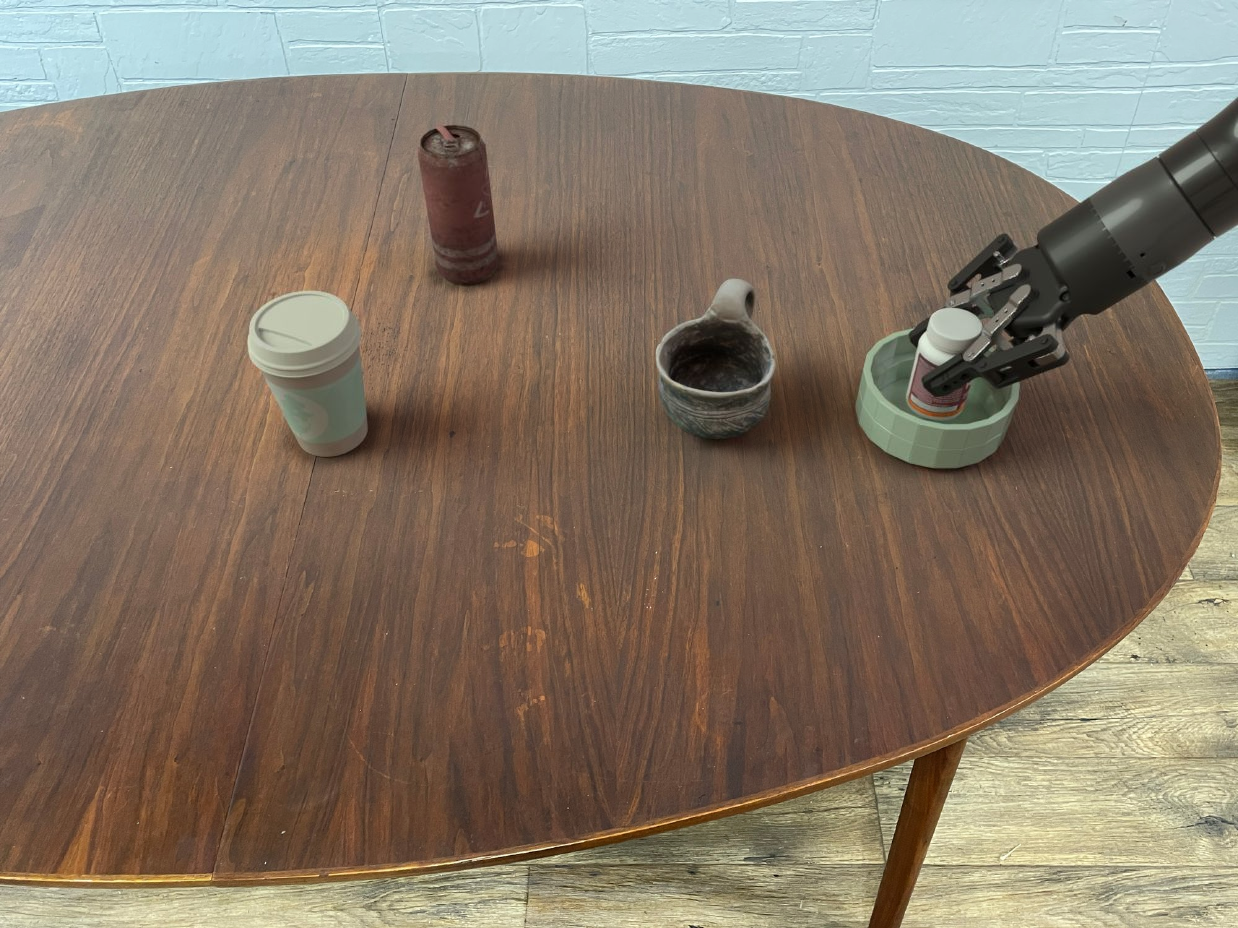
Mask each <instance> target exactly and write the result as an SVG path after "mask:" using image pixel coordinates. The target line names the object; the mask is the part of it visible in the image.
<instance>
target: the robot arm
mask: <svg viewBox="0 0 1238 928" xmlns="http://www.w3.org/2000/svg"><path fill="white" fill-rule="evenodd" d="M1237 226H1238V96H1237V97H1236V98H1234V99H1233V100H1232V101H1231V102H1230V103H1228V105H1226V106H1225V107H1224V108H1223V109H1222V110H1221V111H1219V112H1218V113H1217V114H1215V116H1213V117H1212V118H1210V119H1209V120H1208V121H1206V122H1205V123H1204V124H1202V125H1200V126H1198V127H1197V128H1196V129H1195V130H1192V132H1190V133H1188V134H1187V135H1185V136H1184V137H1183V138H1181V139H1180V140H1178V141H1176V142H1174V143H1173V144H1172V145H1171V146H1169V147H1167V148H1166V149H1165V150H1163V151H1162V152H1160V153H1158V155H1157V156H1154V157H1152V158H1151V159H1149V160H1148V161H1145V162H1144V163H1142V164H1140V165H1138V166H1135V167H1134V168H1132V169H1130V170H1128V171H1126V172H1125V173H1123V174H1121V175H1120V176H1118V177H1117V178H1115V179H1114V180H1112V181H1110V182H1108V184H1105V186H1103V187H1101V188H1100V189H1099V190H1097V191H1095V192H1094V193H1093V194H1091V195H1090V196H1088V197H1086V198H1085V199H1083V200H1082V201H1081V202H1080V203H1078V204H1076V205H1075V206H1074V207H1072V208H1070V209H1069V210H1067V211H1066V212H1064V213H1063V214H1061V215H1060V216H1058V217H1057V218H1055V219H1054V220H1052V221H1051V222H1050V223H1047V224H1046V225H1045V226H1044V227H1042V228H1040V229H1039V230H1038V232H1037V234H1036V242H1037V244H1035V245H1032V246H1030V247H1026V248H1020V246H1019V245H1018V244H1017V243H1016V242H1015V241H1014V239H1012V238H1011V236H1010V235H1009V234H1008V233H1005V232H1004V233H1001V234H999V235H998V236H996V237H995V239H993V240H992V241H991V242H990V243H989V244H988V245H987V246H986V247H985V248H983V250H981V251H980V252H979V253H977V255H976V256H975V257H973V259H972V260H970V261H969V262H968V263H967V264H966V265H965V266H964V267H963V268H962V269H961V270H960V271H959V272H957V274H955V275H954V276H953V277H952V278H951V279H950V280H949V281H948V283H947V286H946V288H947V289H948V290H949V297H948V298H947V300H946V301H945V303H944V306H943V307H942V308H941V309H944V308H958V309H963V310H966V311H969V312H971V313H973V314H974V315H976V316H977V317H978V318H979V319H980V321H982V320H983V319H989V320H988V321H987V322H986V323H985V324H984V325H983V329H982V334H981V336H980V337H979V338H978V339H977V340H976V341H975V342H974V343H973V344H972V345H971V346H970V347H969V348H968V349H967V350H966V351H965V353H964V355H962V354H961V353H959V354H957V355H956V356H954V357H952V358H951V359H949V360H948V361H946V362H945V363H943V364H941V365H940V366H938V367H937V368H935V369H933V370H932V371H930V372H929V373H927V374H926V375H924V376H923V377H922V379H921V380H922V384H923V387H924V388H925V389H926V390H927V391H928V392H929V393H930V394H932V395H933V396H934V397H940V396H941V397H943V396H947V395H949V394H951V393H952V392H954V391H955V390H957V389H958V388H960V387H962V386H964V385H965V384H967V383H969V382H970V381H972V380H973V379H975V378H978V377H983V378H984V379H986V380H987V381H988V382H989V383H990V384H991V385H992V386H993V387H994V388H995V389H1001V388H1003V387H1006V386H1009V385H1011V384H1014V383H1017V382H1019V383H1020V382H1022V381H1025V380H1027V379H1030V378H1033V377H1036V376H1038V375H1041V374H1044V373H1046V372H1049V371H1052V370H1054V369H1058V368H1060V367H1062V366H1065V365H1066V364H1067V363H1068V362H1069V361H1070V357H1071V355H1070V353H1069V352H1068V350H1066V349H1065V347H1064V346H1063V332H1065V331H1066V329H1067V328H1068V327H1069V326H1070V325H1071V323H1073V321H1074V320H1076V319H1077V318H1078V317H1080V316H1082V315H1091V316H1097V315H1099V314H1101V313H1103V312H1104V311H1106V310H1108V309H1109V308H1111V307H1113V306H1114V305H1116V304H1118V303H1119V302H1121V301H1123V300H1124V299H1126V298H1127V297H1129V296H1131V295H1133V294H1134V293H1136V292H1137V291H1139V290H1142V289H1143V288H1144V287H1146V286H1148V285H1149V284H1150V283H1152V282H1154V281H1155V280H1157V279H1159V278H1161V277H1162V276H1164V275H1166V274H1168V273H1169V272H1171V271H1172V270H1174V269H1176V268H1178V267H1179V266H1181V265H1182V264H1184V263H1185V262H1186V261H1188V260H1189V259H1191V258H1192V257H1193V256H1195V255H1196V254H1197V253H1199V252H1200V251H1201V250H1203V248H1204V247H1206V246H1207V245H1209V244H1211V243H1212V242H1213V241H1215V239H1218V238H1220V237H1221V236H1223V235H1225V234H1226V233H1227V232H1229V231H1231V230H1232V229H1234V228H1236V227H1237ZM977 275H980V278H979V279H978V280H977V281H974V282H973V283H972V284H970V287H969V285H968V284H969V283H970V282H971V281H972V280H973V279H974V278H975V277H976V276H977ZM973 305H974V306H973ZM931 316H932V314H931V315H930V316H929V317H927V318H925V319H924V320H922V321H921V322H919V323H918V324H916V326H914V327H913V328H914V329H913V330H912V331H910V332H909V339H910V342H911V343H912V344H913V345H914V346H915V347H916V348H917V347H918V342H919V339H920V338H921V336H922V335H923V334H924V333H925V332H926V331H927V327H928V324H929V320H930V317H931ZM1003 331H1004V333H1006V334H1007V336H1008V337H1009V338H1011V337H1012V338H1011V339H1009V340H1008V339H1007V338H1006V337H1005V336H1004V335H1003ZM994 346H996V347H995V348H994V349H995V350H994V351H993V352H992V353H991V354H990V355H989V356H988V357H986V356H985V355H984V354H985V353H986V352H987V351H988V350H989V349H990V348H991V347H992V348H993V347H994ZM1006 367H1011V368H1008V369H1006V370H1003V371H1001V369H1003V368H1006Z"/></svg>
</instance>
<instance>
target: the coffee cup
mask: <svg viewBox="0 0 1238 928" xmlns="http://www.w3.org/2000/svg"><path fill="white" fill-rule="evenodd" d="M248 329H249V330H248V336H247V351H248V356H249V359H250V360H251V363H253V364H254V365H255V367H257V368H258V369H259V370H260V371H261V373H262V375H263V378H264V379H265V381H266V383H267V385H268V387H269V389H270V391H271V393H272V395H273V397H274V399H275V400H276V402H277V404H278V406H279V408H280V411H281V412H282V414H283V417H284V418H285V420H286V422H287V424H288V426H289V427H290V430H291V432H292V434H293V435H294V437H295V439H296V440H297V443H298V445H299V446H300V448H301V449H302V451H305V452H306V453H307V454H310V455H312V456H315V457H322V458H331V457H337V456H342V455H343V454H346V453H348V452H350V451H352V450H354V449H356V448H357V447H358V446H359V445H360V444H361V443H363V441H364V439H365V438H366V437H367V434H368V430H369V425H368V417H367V415H368V414H367V404H366V396H365V386H364V385H365V384H364V377H363V375H364V374H363V367H362V357H361V348H360V343H361V341H362V336H363V335H362V327H361V324H360V323H359V321H358V319H357V316H356V314H355V313H353V311H352V310H351V309H350V308H349V307H348V305H347V304H346V303H345V301H344V300H342V298H340V297H339V296H337V295H335V294H332V293H329V292H326V291H320V290H299V291H294V292H289V293H286V294H282V295H280V296H278V297H275V298H273V299H272V300H269V301H268V302H266V303H265V304H264V305H262V306H261V307H260V308H259V309H258V310H257V311H256V312H255V313H254V314H253V316H252V317H251V319H250V322H249V327H248Z"/></svg>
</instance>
